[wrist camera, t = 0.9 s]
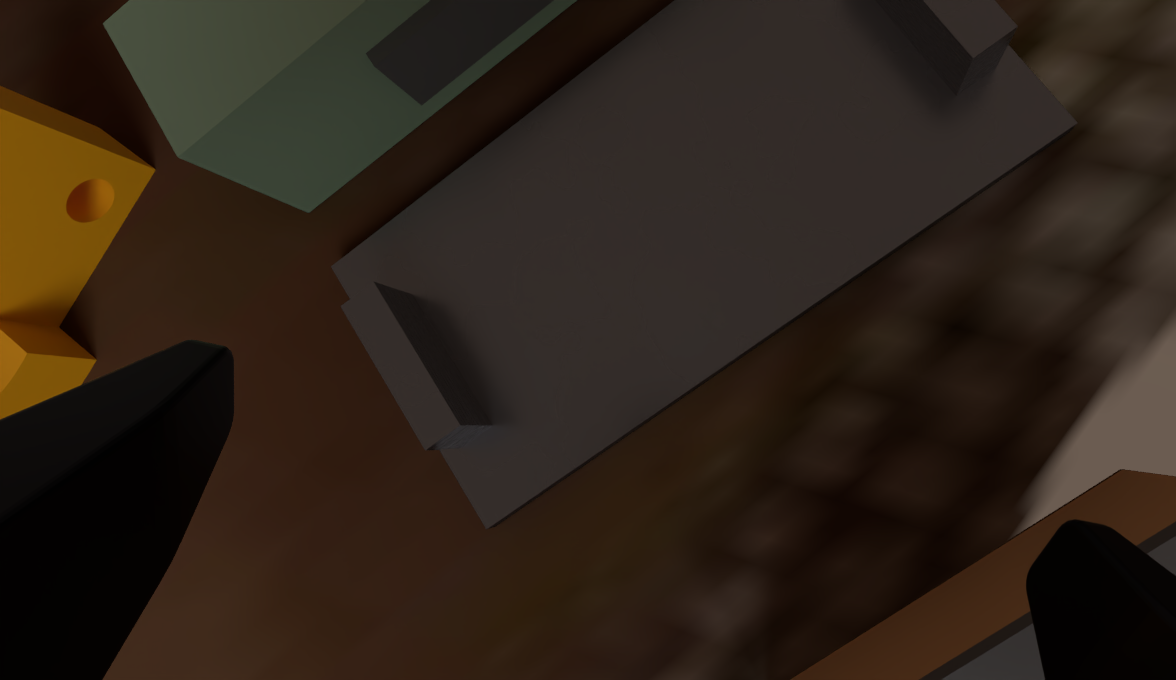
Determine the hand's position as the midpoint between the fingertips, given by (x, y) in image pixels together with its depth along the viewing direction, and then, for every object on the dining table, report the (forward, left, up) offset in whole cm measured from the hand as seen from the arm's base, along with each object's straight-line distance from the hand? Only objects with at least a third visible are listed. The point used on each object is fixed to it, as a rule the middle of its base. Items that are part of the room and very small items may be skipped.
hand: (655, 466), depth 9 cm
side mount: (+6, -2, -11) cm, 13 cm away
